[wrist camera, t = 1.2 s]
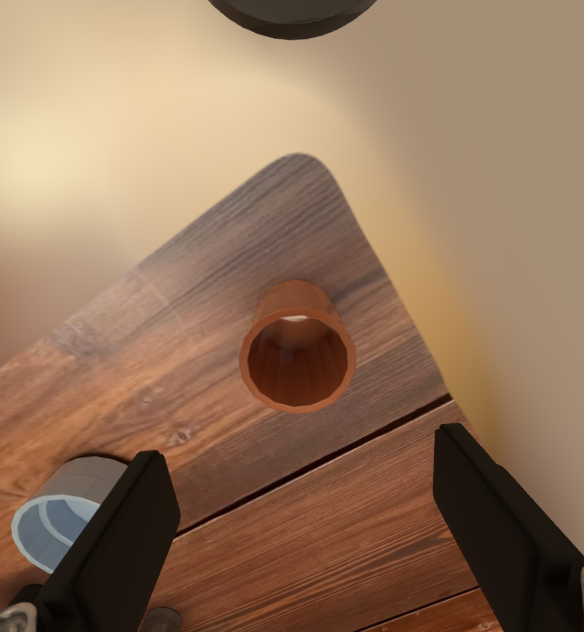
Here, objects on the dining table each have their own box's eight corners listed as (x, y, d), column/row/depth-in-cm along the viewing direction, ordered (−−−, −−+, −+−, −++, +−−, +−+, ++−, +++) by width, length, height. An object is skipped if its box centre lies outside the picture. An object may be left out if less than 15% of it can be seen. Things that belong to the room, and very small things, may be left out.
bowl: (39, 456, 30) (-10, 500, 25) (142, 447, 29) (113, 490, 25) (75, 533, 33) (38, 584, 28) (168, 526, 33) (146, 577, 28)
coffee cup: (252, 283, 24) (230, 314, 16) (331, 275, 24) (353, 301, 15) (263, 355, 26) (249, 418, 18) (336, 348, 26) (358, 408, 17)
